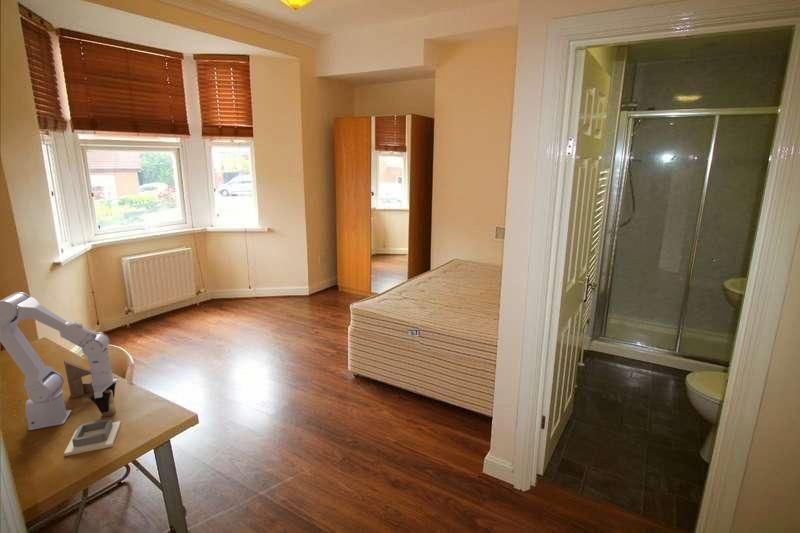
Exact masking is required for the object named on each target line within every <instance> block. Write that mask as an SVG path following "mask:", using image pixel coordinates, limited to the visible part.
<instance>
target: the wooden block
mask: <svg viewBox="0 0 800 533" xmlns="http://www.w3.org/2000/svg"><path fill="white" fill-rule="evenodd" d="M63 364H64V365H63V366H64V370H65V373H66V377H67V385H68V388H69V393H70V396H71V397H72V398H73V399H74V398H78V397H82V396H84V395H85V393H92V392H93V393H94V389H93V387H92V378H91V379H87V380H85V381H83V380H82V379H83V378H82V377H86V376H89V375H90V376H91V373H90V369H89V368H86V367H84V366H80V365H78V364H75V363H73V362H70V361H68V360H66V359H64V360H63Z"/></svg>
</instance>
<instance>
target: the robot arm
mask: <svg viewBox="0 0 800 533" xmlns="http://www.w3.org/2000/svg"><path fill="white" fill-rule="evenodd" d="M30 319H31V320H34V321H37V322H39V323H41V324H43V325H45V326H48V327H50V328H52V329H53V330H56V331H57V332H59V335H60V337H61V338H62V339H64V340H66V341H68V342H69V343H72V344H74V345H76V346H77V347H79V348H81V351H82V353H83V354H84V355H85V356H86V357H87V361H88V367H89V370H90V373H91V374H90V377H91V379H92V387H93V389H94V391H93V393H91V394H90V396H89V399H90V401H92V402H93V403H94V404H95V405H96V407H97V409H98V410H99V412H100V414H102V413H104V412H108V411H109V398H110V395H111V392H109V393H105V392H104V390H112V392H113V398H114V399H115V392H116V384H117V382H118V381H119V379H118V377H115V376H114V375H113V370H112V363H111V358H110V354H109V348H108V347H109V345H110V342H111V340H110V338H109V336H108V335H107V334H106V333H105V332H96V331H93V330H91V329H89V328H87V327H86V326H83V323H81V322H76V321H67V320H65V319H64V318H62V317H60V316H59V315H58V314H55V313H54V312H52V311H51V310H50V309H48V308H47V307H45V306H43V305H42V304H40V302H38V300H37V298H34V297H33V296H30V295H29V294H28V293H26V292H21V291H17V292H13V293H11V294H9V295H8V296H6V297H4V298H2V299H0V344H1V345H2V346H3V347H4V349H5V350H6V352H7V353H8V355H9V357H11V358H12V360H13V361H14V363H15V364H16V365H17V367H18V368H19V369H20V371H21V372H22V374H23V375H24V376H25V378H24V384H23V387H24V388H25V389H26V390H25V391H26V397H27V398H28V399H27V400H26V402H25V406H24V412H25V418H26V421H27V425H28V428H27V429H28V431H32V430H38V429H43V428H48V427H49V428H50V427H54V426H55V427H56V426H59V425H60V426H61V425H64V424H65V423H66V422H67V420H68V418H69V416H70V414H71V413H72V409H66V404H65V398H64V395H63V390H62V388H61V386H62V387H63V385H64V383H65V377H64V376H63V375H62V374H61V373H60V372H58V371H56V370H55V369H54V367H53V366H48V365H45V363H44V361H43V360H42V359H41V358H40V356H39V354H38V353H37V352H36V350H35V349H34V348H33V346H32V345H31V343H30V341H29V340H28V339H27V337H26V336H25V334H24V333H23V332H22V330H21V329H20V328H19V326H18V324H19V322H20V321H23V320H30Z"/></svg>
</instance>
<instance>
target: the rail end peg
mask: <svg viewBox="0 0 800 533" xmlns="http://www.w3.org/2000/svg"><path fill="white" fill-rule="evenodd" d="M104 392H105V393H109V392H111V395H110V398H109V411H108V412H104V413H101V417H103V416H104V417H103V418H106V416H108V417H112V416H114V415H115V414H116V411H117V410H116V409H117V408H116V404H115V397H114V398H113V392H112V390H104Z"/></svg>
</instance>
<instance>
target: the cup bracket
mask: <svg viewBox="0 0 800 533" xmlns="http://www.w3.org/2000/svg"><path fill="white" fill-rule="evenodd" d="M121 425H122V421H121V420H118V421H113V420H112V418H111V419H101V420H96V421H91V422H85V423H83V424H80V425H79V426H78V427H77V429H76V430H75V431H74V433H73V435H72V437H71V439H70V440H69V443H68V445H67V447H66V448H65V451H64V453H63V455H64V457H66V456H72V455H77V454H81V453H87V452H91V451H97V450H102V449H106V448H111V447H113V446H114V444H115V441H116V438H117V436H118V433H119V430H120V427H121Z"/></svg>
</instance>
